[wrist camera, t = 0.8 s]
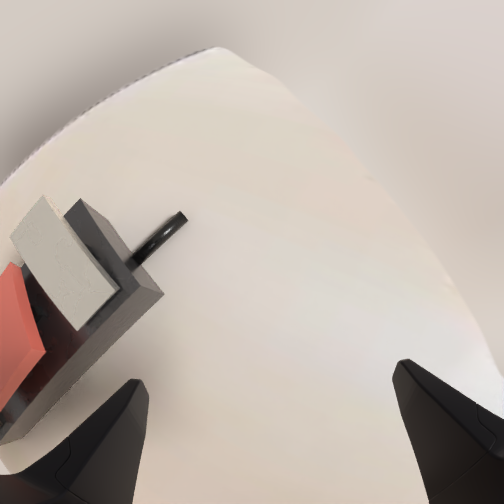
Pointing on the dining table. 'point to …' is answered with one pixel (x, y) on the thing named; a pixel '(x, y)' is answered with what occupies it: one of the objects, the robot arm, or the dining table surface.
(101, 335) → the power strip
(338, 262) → the dining table surface
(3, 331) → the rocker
